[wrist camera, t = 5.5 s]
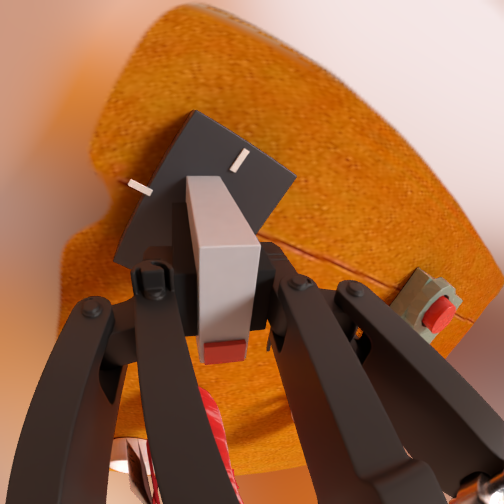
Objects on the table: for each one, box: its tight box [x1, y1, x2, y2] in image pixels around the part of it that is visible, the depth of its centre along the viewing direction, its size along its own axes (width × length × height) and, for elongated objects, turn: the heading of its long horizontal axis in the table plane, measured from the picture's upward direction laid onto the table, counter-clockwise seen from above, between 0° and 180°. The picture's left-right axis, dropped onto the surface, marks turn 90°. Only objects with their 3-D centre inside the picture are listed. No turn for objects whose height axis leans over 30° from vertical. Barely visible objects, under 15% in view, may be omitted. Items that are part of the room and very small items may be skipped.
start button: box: [422, 296, 456, 334], centre depth 26 cm, size 4×4×2 cm
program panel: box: [113, 110, 297, 270], centre depth 17 cm, size 10×9×3 cm
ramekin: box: [110, 437, 155, 475], centre depth 31 cm, size 9×9×4 cm
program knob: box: [186, 176, 261, 365], centre depth 12 cm, size 5×2×8 cm, turn 173°
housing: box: [389, 268, 463, 344], centre depth 30 cm, size 14×11×4 cm
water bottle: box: [126, 386, 244, 504], centre depth 17 cm, size 12×8×25 cm, turn 49°
